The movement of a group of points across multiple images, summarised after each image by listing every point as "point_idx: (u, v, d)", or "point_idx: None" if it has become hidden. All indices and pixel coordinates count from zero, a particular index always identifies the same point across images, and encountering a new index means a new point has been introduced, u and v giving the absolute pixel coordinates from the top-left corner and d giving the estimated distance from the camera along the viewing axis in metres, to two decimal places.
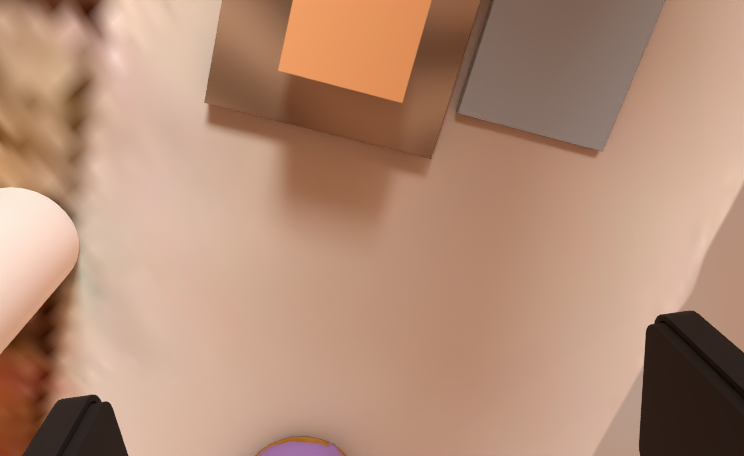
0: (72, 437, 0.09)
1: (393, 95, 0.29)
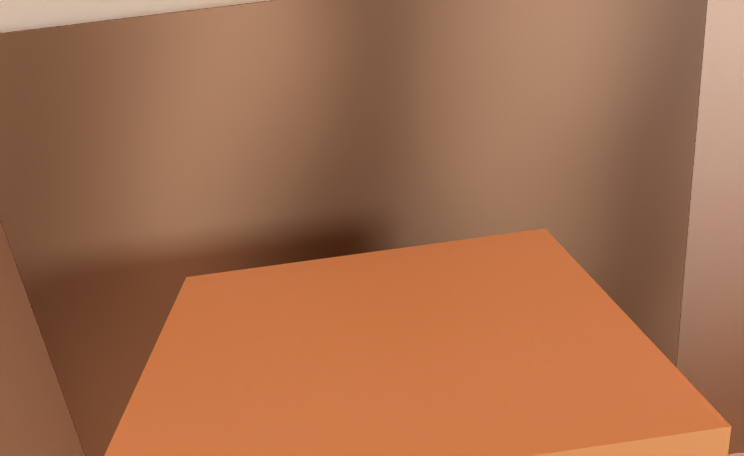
0: None
1: None
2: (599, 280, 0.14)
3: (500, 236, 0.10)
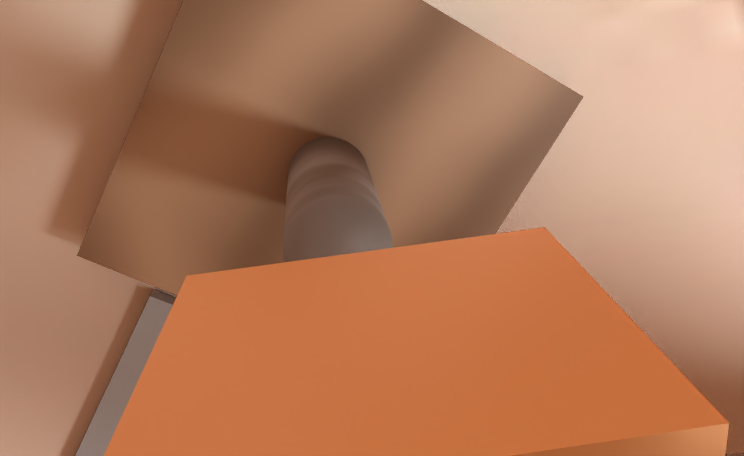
0: None
1: None
2: (449, 222, 0.24)
3: (499, 235, 0.10)
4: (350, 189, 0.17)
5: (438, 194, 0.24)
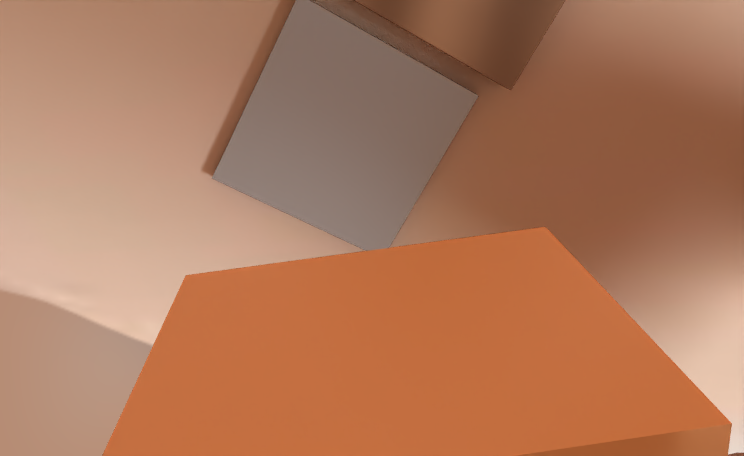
0: None
1: None
2: None
3: (499, 234, 0.10)
4: None
5: None
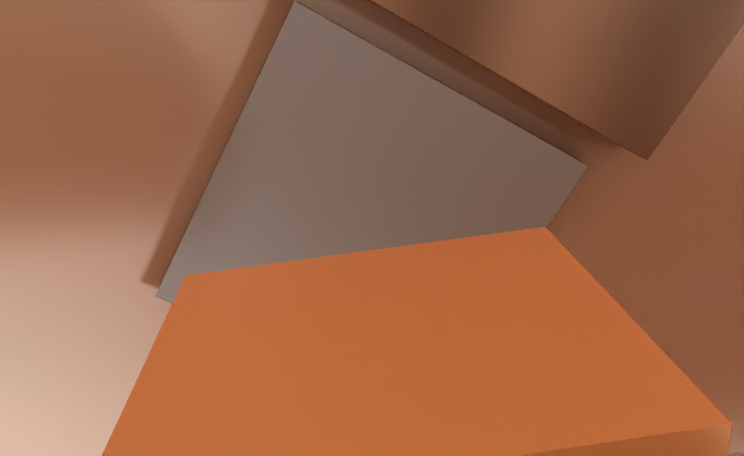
0: None
1: None
2: None
3: (499, 234, 0.10)
4: None
5: None
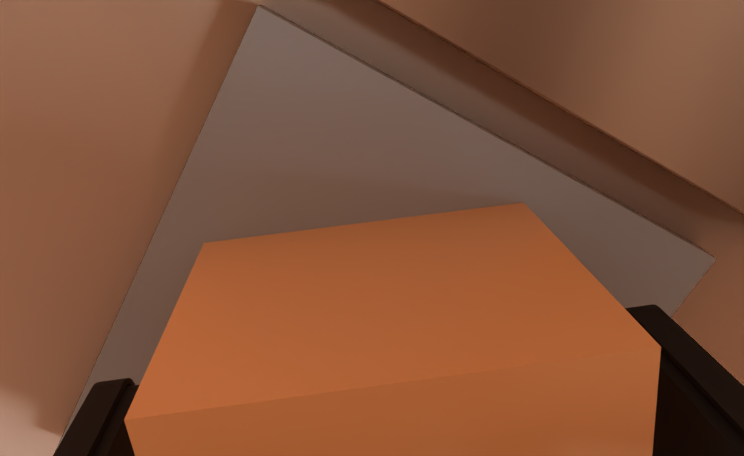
0: (111, 417, 0.09)
1: None
2: None
3: (483, 209, 0.12)
4: None
5: None
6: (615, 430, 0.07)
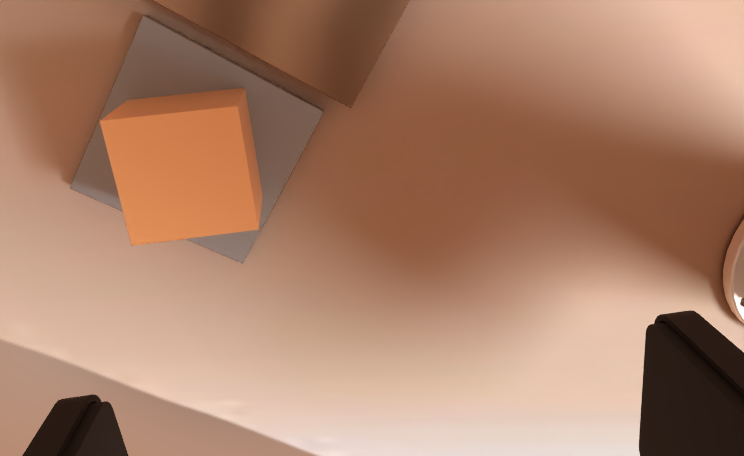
0: (72, 437, 0.09)
1: (134, 235, 0.29)
2: None
3: (230, 89, 0.32)
4: None
5: None
6: (231, 131, 0.28)
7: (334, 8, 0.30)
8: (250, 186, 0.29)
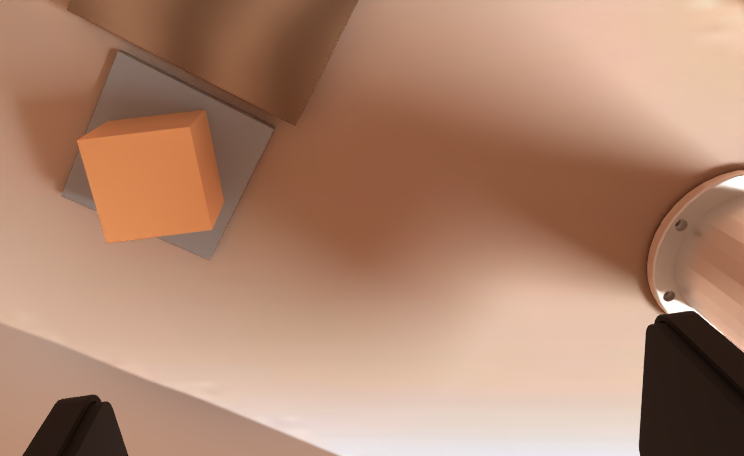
0: (72, 437, 0.09)
1: (108, 234, 0.35)
2: None
3: (193, 111, 0.38)
4: None
5: None
6: (185, 147, 0.33)
7: (276, 42, 0.36)
8: (203, 193, 0.34)
